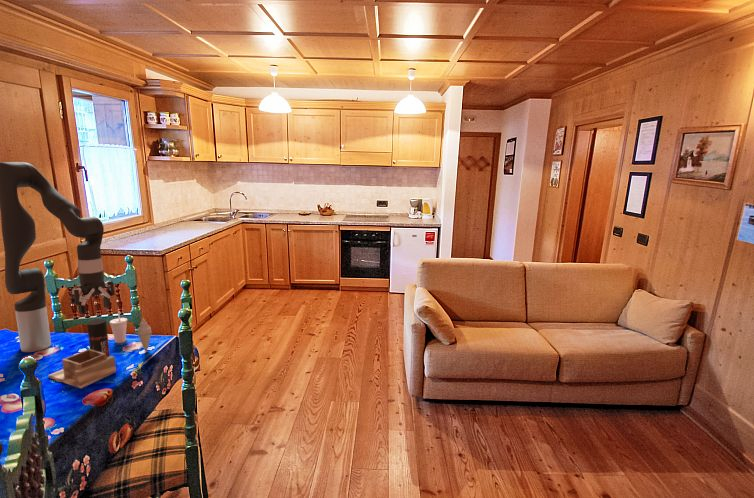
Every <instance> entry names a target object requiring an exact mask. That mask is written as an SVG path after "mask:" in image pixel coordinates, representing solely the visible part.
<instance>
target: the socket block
mask: <svg viewBox="0 0 754 498" xmlns="http://www.w3.org/2000/svg"><path fill="white" fill-rule="evenodd" d="M105 358H107V356H106V354H105V353H102V352H98V351H95V350H92V349H90V348H89V349H86V350H83V351H81V352H78V353H76V354H72V355H70V356H67V357H65V358H63V359H62V360H61V361H62V367H63V368H62V369H63V370H64V377H67V378H70V379H73V380H76V376H75V371H76V370H79V369H81V368H83V367H86V366H88V365H90V364H93V363H95V362H98V361H100V360H102V359H105Z"/></svg>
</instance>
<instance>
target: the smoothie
mask: <svg viewBox="0 0 754 498" xmlns="http://www.w3.org/2000/svg"><path fill="white" fill-rule="evenodd" d="M120 312H121V311H120V310H118V311H117V314H118V315H117V316H118V317H117V318H114V319H111V320H110V321H109V325H110V328H111V330H112V331H111V332H112V335H113V339H114V342H115V343H116V344H122V343H125V342H126V340H127V339H126V338H127V326H128V324H127V323H128V318H126V317H121V314H120Z"/></svg>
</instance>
